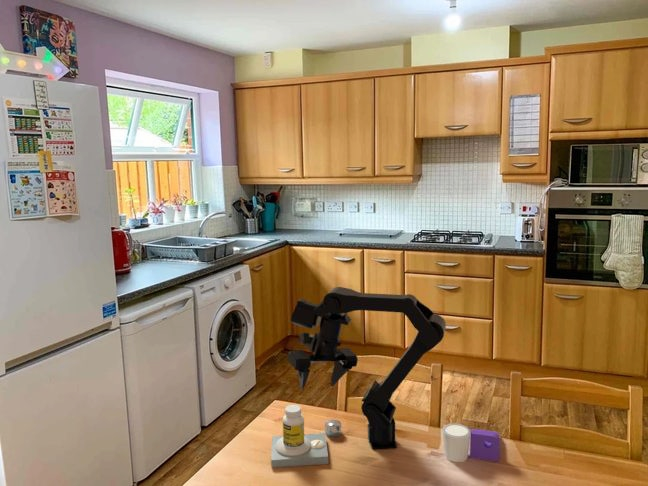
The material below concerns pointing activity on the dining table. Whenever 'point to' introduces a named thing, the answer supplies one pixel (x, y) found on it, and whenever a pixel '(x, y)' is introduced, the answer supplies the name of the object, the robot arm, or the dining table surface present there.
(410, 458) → the dining table surface
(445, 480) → the dining table surface
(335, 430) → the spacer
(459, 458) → the white short tapered cylinder
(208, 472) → the dining table surface
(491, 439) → the purple box with knob
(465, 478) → the dining table surface
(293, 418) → the supplement bottle
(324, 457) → the scale
